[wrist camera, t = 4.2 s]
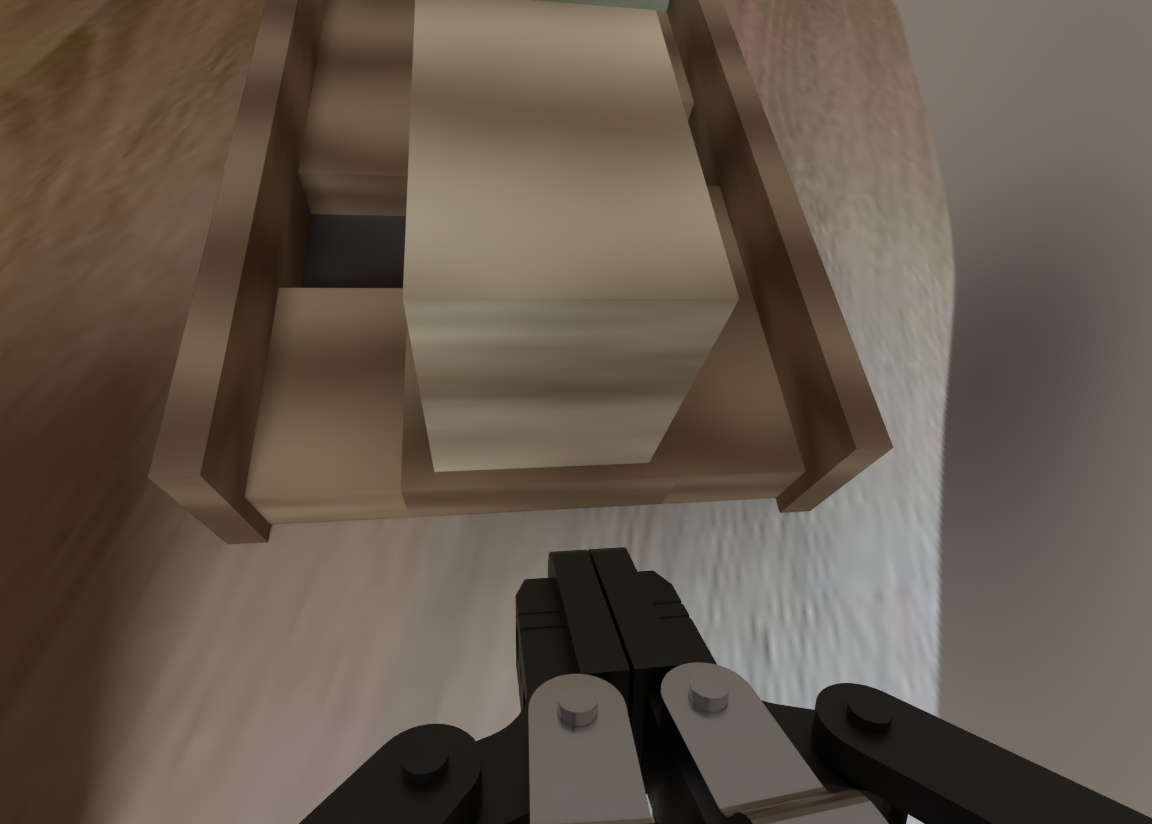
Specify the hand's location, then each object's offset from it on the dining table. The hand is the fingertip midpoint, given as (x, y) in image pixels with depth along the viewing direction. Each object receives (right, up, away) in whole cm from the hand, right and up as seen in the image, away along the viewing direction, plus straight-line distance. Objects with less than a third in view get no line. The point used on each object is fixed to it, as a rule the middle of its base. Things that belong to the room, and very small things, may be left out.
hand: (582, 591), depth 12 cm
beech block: (-2, +7, +10) cm, 12 cm away
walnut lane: (-3, +12, +16) cm, 21 cm away
